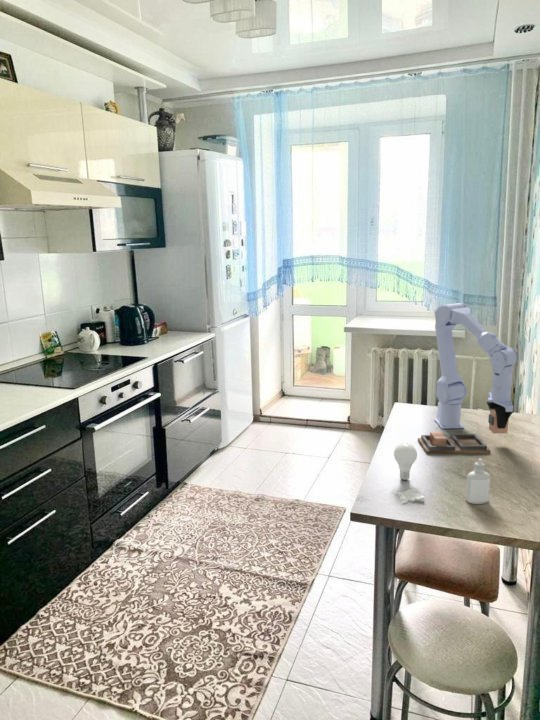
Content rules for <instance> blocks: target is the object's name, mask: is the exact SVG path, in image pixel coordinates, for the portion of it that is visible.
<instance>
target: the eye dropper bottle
mask: <svg viewBox="0 0 540 720" xmlns="http://www.w3.org/2000/svg"><path fill="white" fill-rule="evenodd" d="M485 466H486V465H485V463H484V462H483V461H482V458H478V460H477V461H476V462H474V467H473V470H471V471H470V472H468V474H467V476H466V486H465V487H466V489H465V501H467V503H469V504H473V505H474V504H475V505H482V504H487V503H488V502H489V500H490V490H491V489H490V487H491V475H490V474H489V473H488V472H487V471H485Z"/></svg>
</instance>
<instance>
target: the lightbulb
mask: <svg viewBox="0 0 540 720" xmlns="http://www.w3.org/2000/svg"><path fill="white" fill-rule="evenodd" d="M417 457H418V452H417V450H416V448H415V447H414V446H413V444H411V443H408V442H403V443H399V444H398V445H396V447H395V448H394V451H393V458H394V459H395V461H396V463H397V464H398V468H399V478H400V479H401V480H403V481H407V480H409V479H410V471H411V470H412V466H413V464H414V463H416V461H417V459H418V458H417Z"/></svg>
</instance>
